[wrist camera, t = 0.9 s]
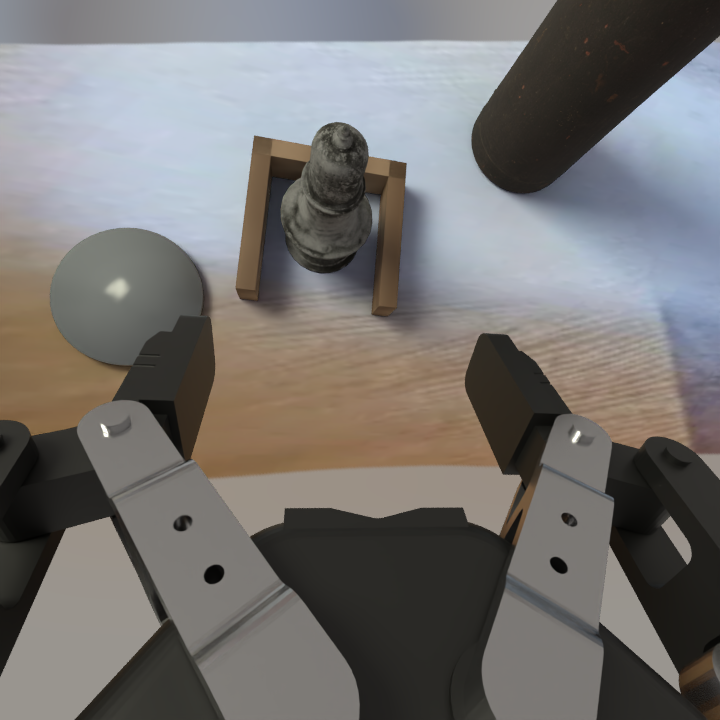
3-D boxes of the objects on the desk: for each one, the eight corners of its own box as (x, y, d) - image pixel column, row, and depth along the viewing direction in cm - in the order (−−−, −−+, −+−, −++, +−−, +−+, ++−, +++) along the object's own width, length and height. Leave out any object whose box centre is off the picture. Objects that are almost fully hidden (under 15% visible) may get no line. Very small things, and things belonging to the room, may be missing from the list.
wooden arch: (239, 298, 29) (235, 288, 26) (256, 158, 30) (254, 135, 28) (387, 316, 30) (396, 307, 28) (397, 182, 32) (406, 163, 29)
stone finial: (302, 289, 29) (313, 209, 18) (267, 215, 30) (254, 87, 18) (376, 259, 31) (431, 164, 19) (341, 188, 31) (375, 50, 19)
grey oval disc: (43, 358, 26) (37, 357, 25) (68, 222, 27) (63, 218, 27) (194, 372, 27) (192, 371, 27) (211, 242, 29) (210, 238, 28)
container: (585, 145, 35) (962, -191, 16) (530, 221, 33) (877, -51, 14) (506, 76, 35) (794, -361, 15) (446, 150, 33) (683, -238, 13)
